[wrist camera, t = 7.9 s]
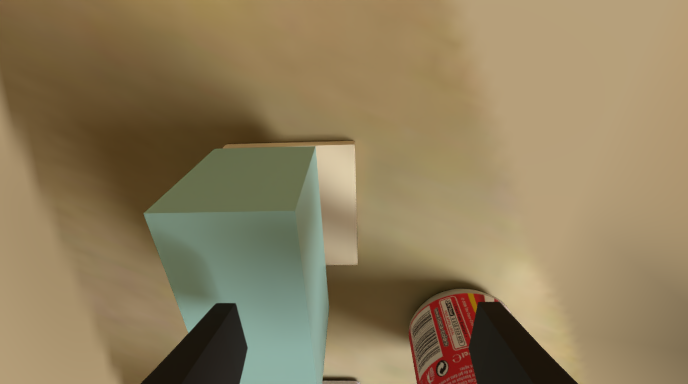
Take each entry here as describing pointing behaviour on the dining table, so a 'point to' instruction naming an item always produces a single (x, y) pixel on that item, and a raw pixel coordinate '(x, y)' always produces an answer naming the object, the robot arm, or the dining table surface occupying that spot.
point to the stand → (332, 196)
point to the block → (252, 254)
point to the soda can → (445, 336)
